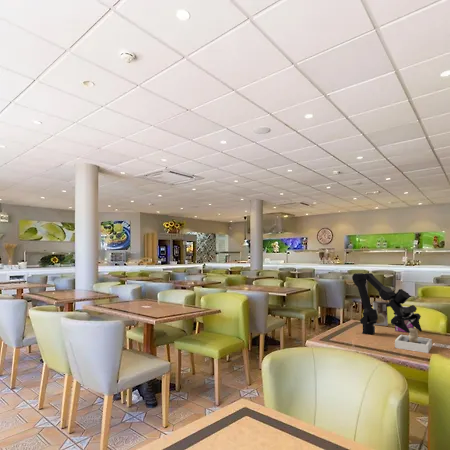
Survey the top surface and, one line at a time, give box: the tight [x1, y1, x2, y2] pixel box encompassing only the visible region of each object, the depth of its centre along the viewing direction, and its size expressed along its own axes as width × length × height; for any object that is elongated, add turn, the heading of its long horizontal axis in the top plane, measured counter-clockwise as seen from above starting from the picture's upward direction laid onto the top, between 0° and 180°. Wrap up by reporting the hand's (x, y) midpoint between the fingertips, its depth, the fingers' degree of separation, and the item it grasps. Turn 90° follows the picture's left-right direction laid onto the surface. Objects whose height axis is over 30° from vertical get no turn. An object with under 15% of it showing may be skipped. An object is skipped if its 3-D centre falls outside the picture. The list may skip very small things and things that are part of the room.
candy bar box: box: [394, 305, 415, 333], centre depth 230 cm, size 11×5×16 cm, turn 58°
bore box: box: [394, 334, 433, 354], centre depth 195 cm, size 16×16×4 cm
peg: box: [408, 327, 419, 343], centre depth 196 cm, size 4×4×10 cm
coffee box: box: [372, 300, 389, 327], centre depth 252 cm, size 9×6×16 cm
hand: (415, 332), depth 195 cm, fingers open, 9 cm apart
